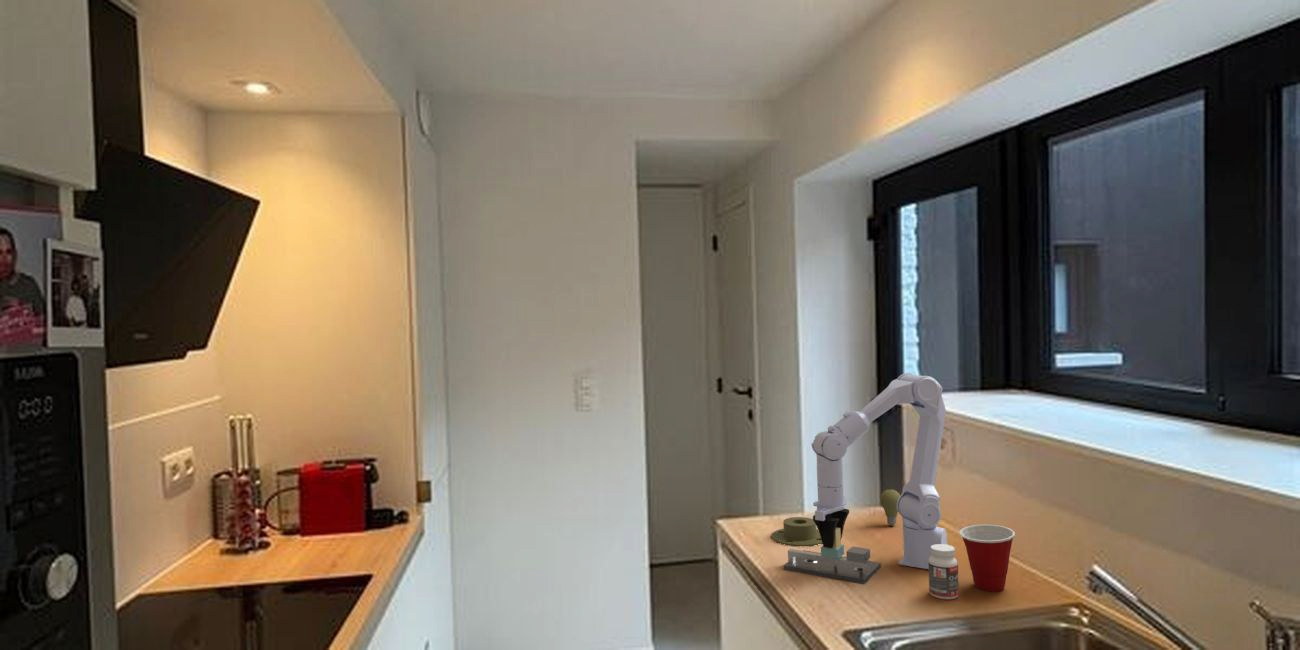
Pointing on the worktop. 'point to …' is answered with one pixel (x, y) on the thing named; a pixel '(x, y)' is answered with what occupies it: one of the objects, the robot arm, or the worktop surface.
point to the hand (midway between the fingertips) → (832, 544)
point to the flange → (798, 532)
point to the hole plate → (832, 569)
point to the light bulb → (890, 505)
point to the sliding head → (834, 547)
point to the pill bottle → (943, 572)
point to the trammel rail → (854, 559)
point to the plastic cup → (988, 554)
